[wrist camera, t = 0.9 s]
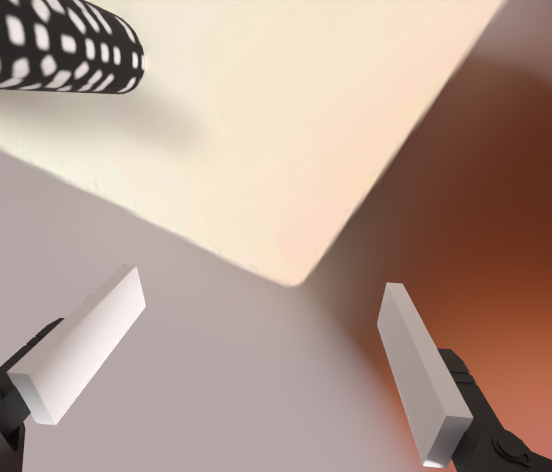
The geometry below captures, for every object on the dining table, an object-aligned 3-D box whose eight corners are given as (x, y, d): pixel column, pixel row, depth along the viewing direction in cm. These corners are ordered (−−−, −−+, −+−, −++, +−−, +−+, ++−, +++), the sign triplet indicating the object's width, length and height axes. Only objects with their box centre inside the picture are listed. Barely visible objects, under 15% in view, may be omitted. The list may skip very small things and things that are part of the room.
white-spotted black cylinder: (79, 86, 35) (-151, 69, 17) (72, 4, 32) (-229, -124, 14) (144, 100, 35) (-18, 99, 17) (144, 20, 32) (-60, -85, 14)
